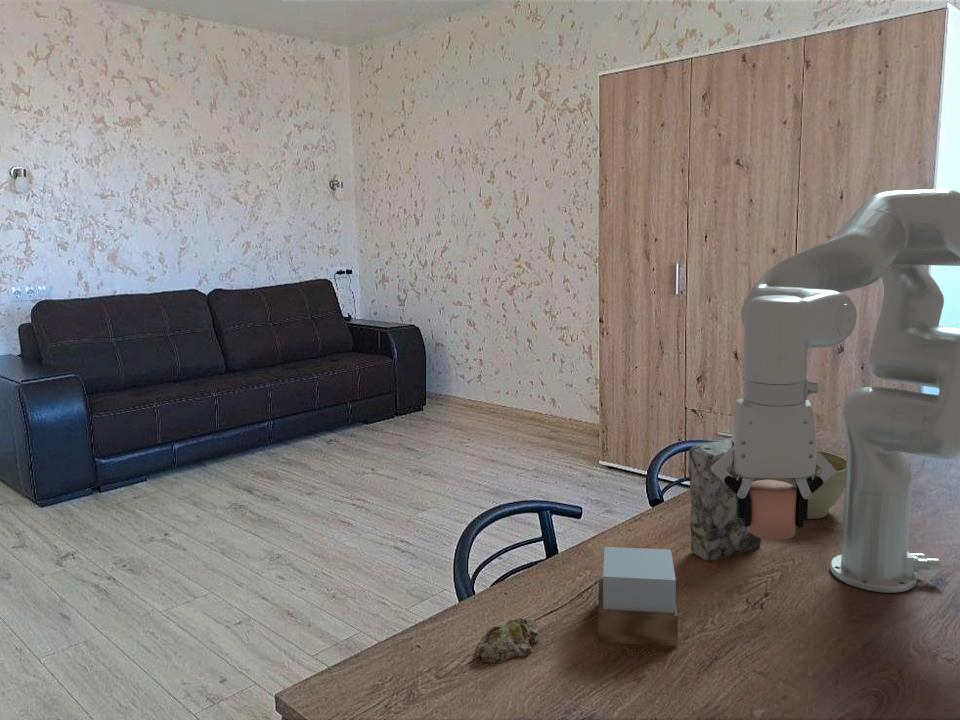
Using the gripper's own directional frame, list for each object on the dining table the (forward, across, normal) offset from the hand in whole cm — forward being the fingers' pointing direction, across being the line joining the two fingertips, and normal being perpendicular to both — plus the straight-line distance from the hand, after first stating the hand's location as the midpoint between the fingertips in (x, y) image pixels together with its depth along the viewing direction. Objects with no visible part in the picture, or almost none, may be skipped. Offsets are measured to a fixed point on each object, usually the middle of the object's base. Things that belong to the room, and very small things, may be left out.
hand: (771, 521), depth 101 cm
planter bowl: (+20, -17, -52) cm, 59 cm away
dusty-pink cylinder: (+1, 0, 0) cm, 1 cm away
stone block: (+20, +1, -32) cm, 38 cm away
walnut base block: (+19, +18, -5) cm, 27 cm away
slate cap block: (+14, +17, -6) cm, 23 cm away
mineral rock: (+19, +36, +2) cm, 41 cm away
